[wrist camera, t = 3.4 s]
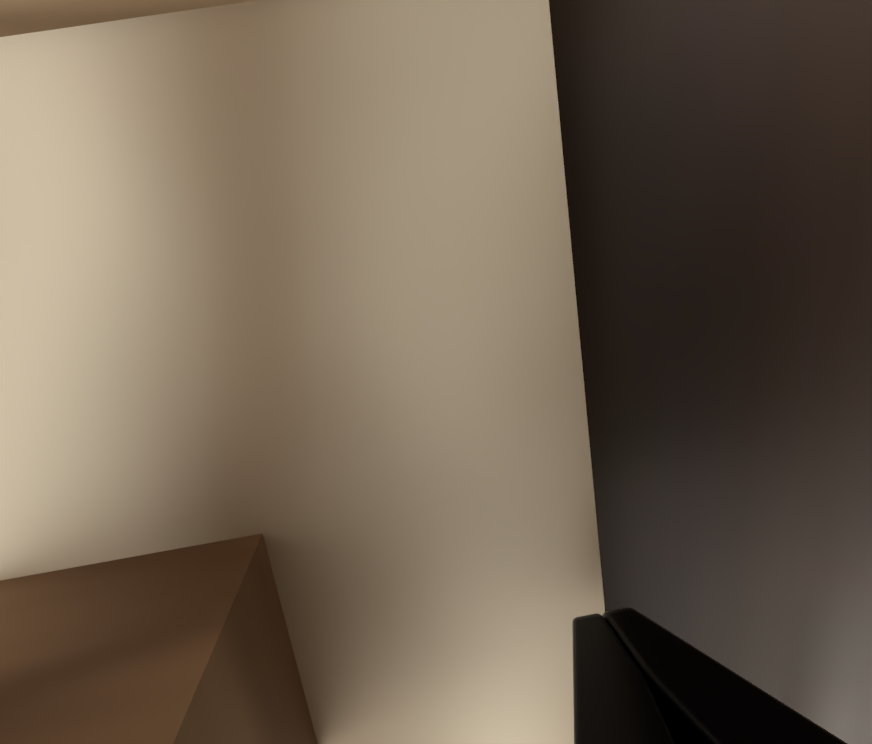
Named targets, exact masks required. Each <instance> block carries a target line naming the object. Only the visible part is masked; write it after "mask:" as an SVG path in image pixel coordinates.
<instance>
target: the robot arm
mask: <svg viewBox="0 0 872 744" xmlns="http://www.w3.org/2000/svg"><path fill="white" fill-rule="evenodd" d="M572 636H573V707H574V744H847V743H845V742H844V741H842V740H841V739H839V738H838V737H836V736H834V735H833V734H831V733H830V732H828V731H826V730H825V729H823V728H822V727H820V726H818V725H817V724H815V723H814V722H812V721H811V720H809V719H807V718H806V717H804V716H803V715H801V714H799V713H798V712H796V711H795V710H793V709H792V708H790V707H788V706H787V705H785V704H784V703H782V702H780V701H779V700H777V699H776V698H774V697H772V696H771V695H769V694H768V693H766V692H765V691H763V690H761V689H760V688H758V687H757V686H755V685H753V684H752V683H750V682H749V681H747V680H746V679H744V678H742V677H741V676H739V675H738V674H736V673H734V672H733V671H731V670H730V669H728V668H726V667H725V666H723V665H722V664H720V663H719V662H717V661H715V660H714V659H712V658H711V657H709V656H707V655H706V654H704V653H703V652H701V651H700V650H698V649H696V648H695V647H693V646H692V645H690V644H688V643H687V642H685V641H684V640H682V639H680V638H679V637H677V636H676V635H674V634H673V633H671V632H669V631H668V630H666V629H665V628H663V627H661V626H660V625H658V624H657V623H655V622H654V621H652V620H650V619H649V618H647V617H646V616H644V615H642V614H641V613H639V612H638V611H636V610H634V609H632V608H622V609H616V610H611V611H606V612H605V613H604V614H603V615H600V614H598V613H595V614H590V615H585V616H580V617H576V618H574V619H573V622H572Z"/></svg>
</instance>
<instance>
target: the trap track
mask: <svg viewBox="0 0 872 744" xmlns="http://www.w3.org/2000/svg"><path fill="white" fill-rule="evenodd" d="M256 534H263V538H264V541H265V545H266V549H267V553H268V557H269V560H270V564H271V568H272V572H273V576H274V579H275V583H276V587H277V591H278V595H279V599H280V602H281V606H282V610H283V614H284V618H285V621H286V625H287V629H288V633H289V637H290V640H291V644H292V648H293V652H294V656H295V659H296V663H297V667H298V671H299V675H300V679H301V682H302V686H303V690H304V694H305V698H306V701H307V705H308V709H309V713H310V717H311V720H312V724H313V728H314V732H315V736H316V739H317V743H318V744H574V707H573V636H572V622H573V619H574V618H576V617H580V616H585V615H590V614H595V613H598V614H600V615H603V614H604V613H605V606H604V595H603V584H602V573H601V562H600V551H599V541H598V530H597V519H596V508H595V497H594V486H593V475H592V465H591V454H590V443H589V432H588V421H587V410H586V399H585V389H584V378H583V367H582V356H581V345H580V334H579V323H578V313H577V302H576V291H575V280H574V269H573V258H572V247H571V236H570V226H569V215H568V204H567V193H566V182H565V171H564V160H563V150H562V139H561V128H560V117H559V106H558V95H557V84H556V74H555V63H554V52H553V41H552V30H551V19H550V8H549V0H0V581H1V580H7V579H12V578H18V577H23V576H29V575H34V574H40V573H45V572H51V571H57V570H62V569H68V568H73V567H79V566H84V565H90V564H95V563H101V562H106V561H112V560H118V559H123V558H129V557H134V556H140V555H145V554H151V553H156V552H162V551H168V550H173V549H179V548H184V547H190V546H195V545H201V544H206V543H212V542H218V541H223V540H229V539H234V538H240V537H245V536H251V535H256Z"/></svg>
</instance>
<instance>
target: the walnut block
mask: <svg viewBox="0 0 872 744" xmlns="http://www.w3.org/2000/svg"><path fill="white" fill-rule="evenodd" d="M0 744H318V743H317V739H316V736H315V732H314V728H313V724H312V720H311V717H310V713H309V709H308V705H307V701H306V698H305V694H304V690H303V686H302V682H301V679H300V675H299V671H298V667H297V663H296V659H295V656H294V652H293V648H292V644H291V640H290V637H289V633H288V629H287V625H286V621H285V618H284V614H283V610H282V606H281V602H280V599H279V595H278V591H277V587H276V583H275V579H274V576H273V572H272V568H271V564H270V560H269V557H268V553H267V549H266V545H265V541H264V538H263V534H256V535H251V536H245V537H240V538H234V539H229V540H223V541H218V542H212V543H206V544H201V545H195V546H190V547H184V548H179V549H173V550H168V551H162V552H156V553H151V554H145V555H140V556H134V557H129V558H123V559H118V560H112V561H106V562H101V563H95V564H90V565H84V566H79V567H73V568H68V569H62V570H57V571H51V572H45V573H40V574H34V575H29V576H23V577H18V578H12V579H7V580H1V581H0Z"/></svg>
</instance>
